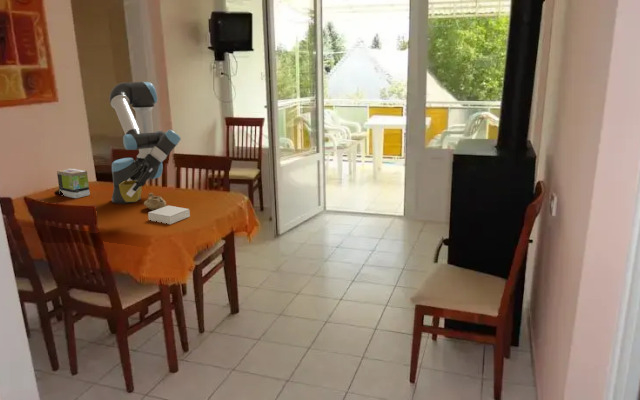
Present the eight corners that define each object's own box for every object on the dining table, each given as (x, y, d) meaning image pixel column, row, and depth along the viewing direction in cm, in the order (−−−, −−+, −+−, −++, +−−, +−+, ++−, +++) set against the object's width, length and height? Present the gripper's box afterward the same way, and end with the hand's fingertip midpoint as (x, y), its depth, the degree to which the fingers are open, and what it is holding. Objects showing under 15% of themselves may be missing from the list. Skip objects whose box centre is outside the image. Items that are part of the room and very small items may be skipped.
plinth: (148, 220, 250) (148, 212, 249) (168, 212, 262) (168, 205, 261) (170, 224, 244) (169, 216, 243) (189, 216, 256) (189, 209, 255)
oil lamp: (158, 214, 260) (157, 199, 258) (139, 209, 268) (138, 195, 265) (174, 209, 269) (173, 194, 266) (156, 204, 276) (155, 190, 274)
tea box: (90, 195, 295) (87, 170, 291) (74, 199, 287) (71, 173, 283) (75, 191, 303) (72, 167, 299) (59, 195, 294) (55, 170, 290)
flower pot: (125, 198, 248) (123, 180, 246) (144, 197, 249) (142, 180, 246) (120, 203, 240) (118, 185, 237) (139, 202, 240) (137, 184, 238)
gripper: (168, 166, 238) (137, 203, 234) (154, 158, 257) (126, 191, 253) (156, 156, 234) (124, 193, 230) (143, 149, 253) (114, 183, 249)
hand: (125, 192), depth 242 cm, fingers closed on flower pot, 11 cm apart
